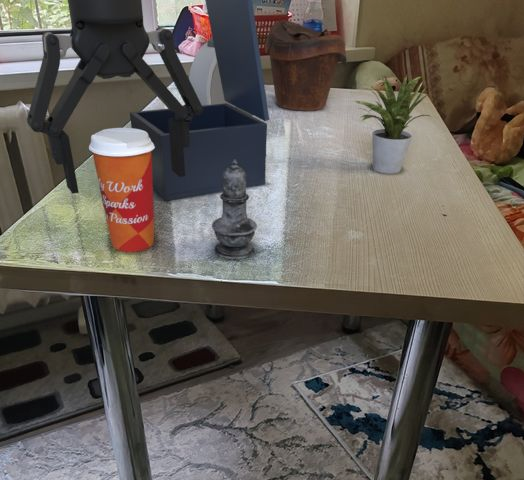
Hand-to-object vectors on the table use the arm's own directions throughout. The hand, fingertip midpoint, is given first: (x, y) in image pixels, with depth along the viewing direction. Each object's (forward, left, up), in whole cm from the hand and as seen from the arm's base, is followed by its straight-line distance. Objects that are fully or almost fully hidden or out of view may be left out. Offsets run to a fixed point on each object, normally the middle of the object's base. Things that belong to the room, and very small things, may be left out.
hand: (127, 181), depth 69 cm
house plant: (+40, +36, -9) cm, 54 cm away
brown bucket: (+26, +82, -9) cm, 86 cm away
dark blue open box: (+6, +26, -8) cm, 28 cm away
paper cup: (0, 0, -9) cm, 9 cm away
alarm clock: (+8, +54, -9) cm, 55 cm away
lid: (+11, +29, +11) cm, 33 cm away
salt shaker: (+13, -1, -9) cm, 16 cm away
